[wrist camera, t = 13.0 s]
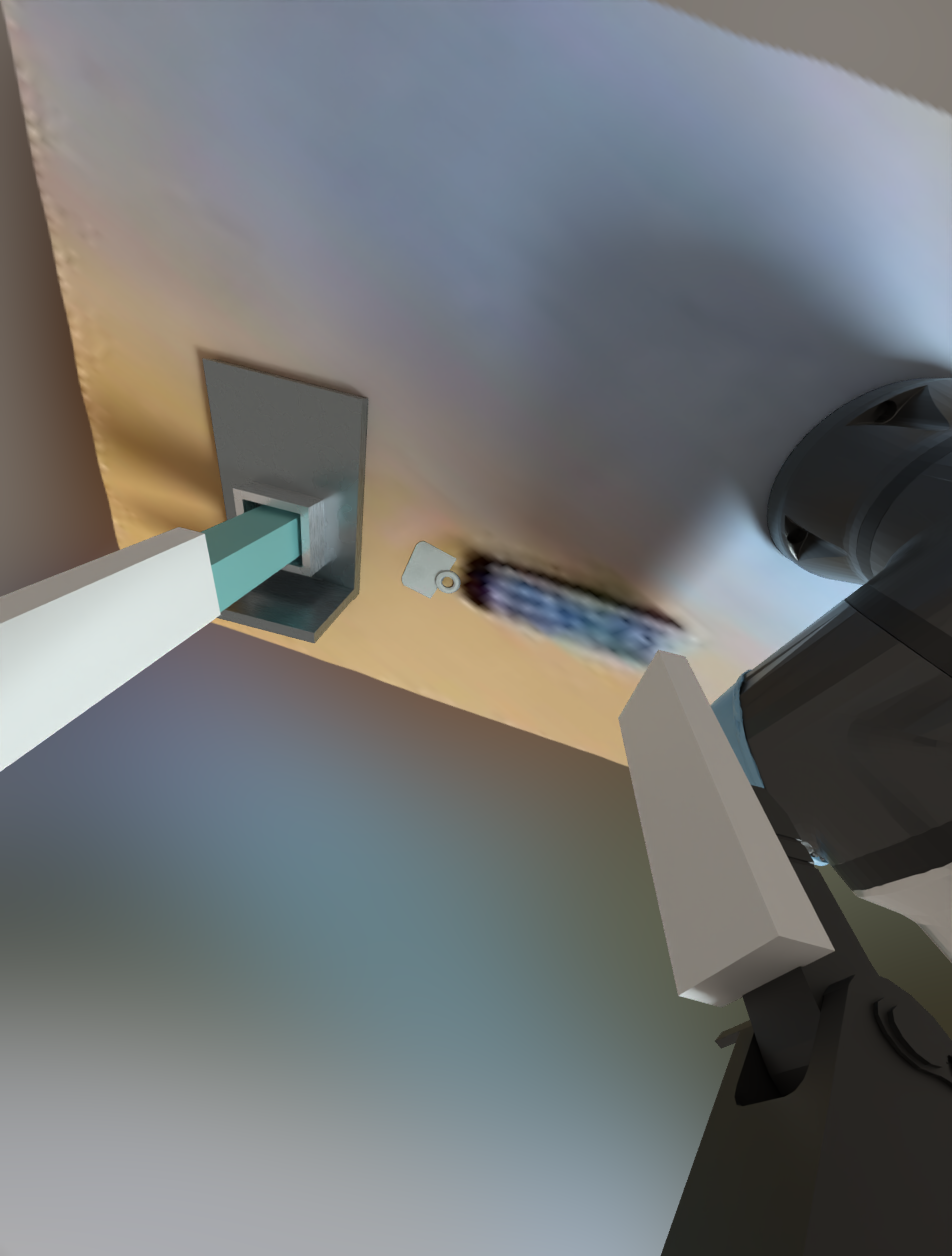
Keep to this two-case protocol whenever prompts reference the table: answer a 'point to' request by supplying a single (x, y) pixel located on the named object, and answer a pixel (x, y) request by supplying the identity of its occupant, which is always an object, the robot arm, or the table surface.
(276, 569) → the teal block
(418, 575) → the mounting bracket
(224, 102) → the table surface
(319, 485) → the cup bracket
